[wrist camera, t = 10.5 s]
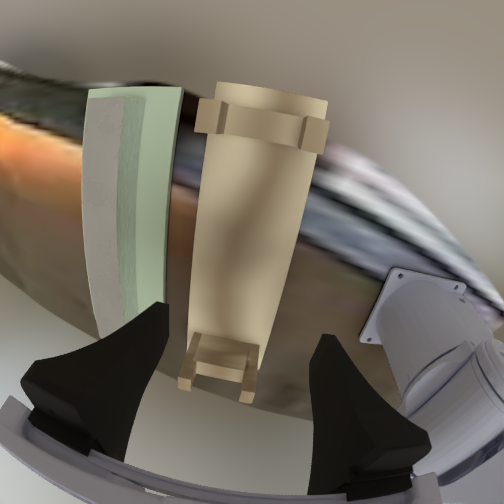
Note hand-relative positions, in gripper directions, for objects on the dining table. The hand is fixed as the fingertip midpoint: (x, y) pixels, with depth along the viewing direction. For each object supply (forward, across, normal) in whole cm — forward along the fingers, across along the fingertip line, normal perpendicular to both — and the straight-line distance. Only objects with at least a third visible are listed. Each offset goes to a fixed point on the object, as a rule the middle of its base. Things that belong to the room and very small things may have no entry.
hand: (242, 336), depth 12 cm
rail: (+9, +11, 0) cm, 14 cm away
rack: (+9, +1, 0) cm, 9 cm away
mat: (+9, +11, 0) cm, 14 cm away
